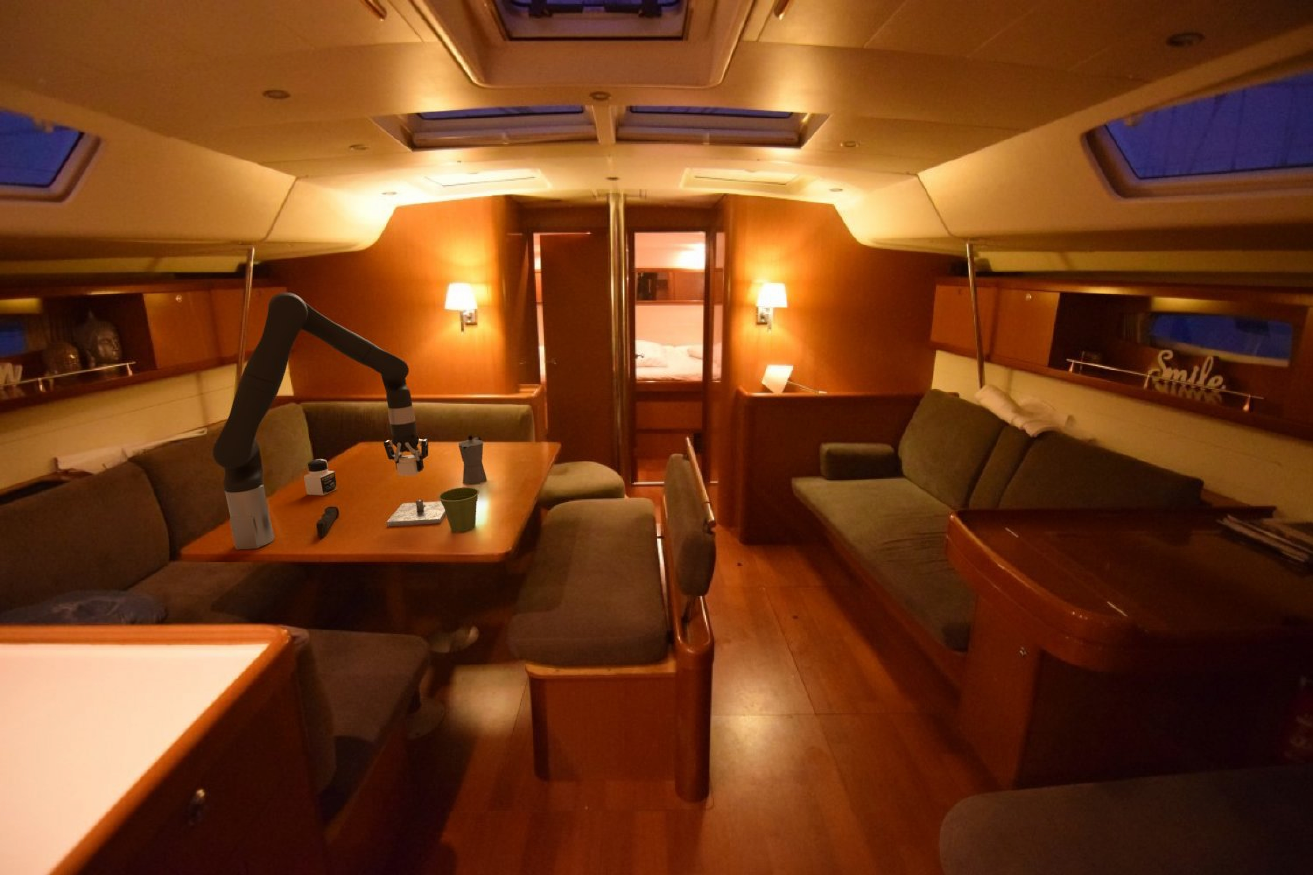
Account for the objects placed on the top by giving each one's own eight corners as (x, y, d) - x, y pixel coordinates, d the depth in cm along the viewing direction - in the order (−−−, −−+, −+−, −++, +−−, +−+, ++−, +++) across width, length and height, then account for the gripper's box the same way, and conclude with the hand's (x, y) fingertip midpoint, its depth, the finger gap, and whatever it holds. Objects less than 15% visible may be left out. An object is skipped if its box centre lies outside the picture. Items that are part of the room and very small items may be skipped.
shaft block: (440, 523, 185) (438, 508, 184) (387, 526, 184) (385, 511, 182) (452, 504, 201) (450, 491, 199) (403, 507, 199) (401, 493, 198)
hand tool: (326, 517, 192) (324, 504, 191) (340, 516, 193) (337, 503, 192) (310, 541, 175) (307, 527, 173) (325, 539, 176) (322, 525, 174)
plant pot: (448, 521, 186) (444, 487, 184) (486, 519, 187) (483, 486, 184) (437, 537, 175) (433, 501, 172) (478, 535, 176) (474, 499, 173)
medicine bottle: (323, 495, 212) (318, 463, 209) (306, 494, 214) (300, 463, 210) (337, 489, 219) (332, 458, 216) (321, 488, 220) (315, 457, 217)
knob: (423, 469, 193) (421, 453, 192) (415, 475, 188) (412, 459, 186) (406, 470, 194) (403, 454, 192) (397, 475, 188) (395, 459, 187)
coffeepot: (480, 486, 218) (475, 439, 213) (455, 486, 219) (450, 439, 214) (495, 473, 233) (490, 429, 228) (472, 473, 234) (467, 429, 229)
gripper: (429, 417, 189) (437, 467, 194) (386, 418, 190) (394, 468, 195) (419, 422, 182) (427, 474, 187) (374, 423, 183) (383, 475, 187)
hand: (410, 470), depth 191 cm, fingers closed on knob, 5 cm apart
